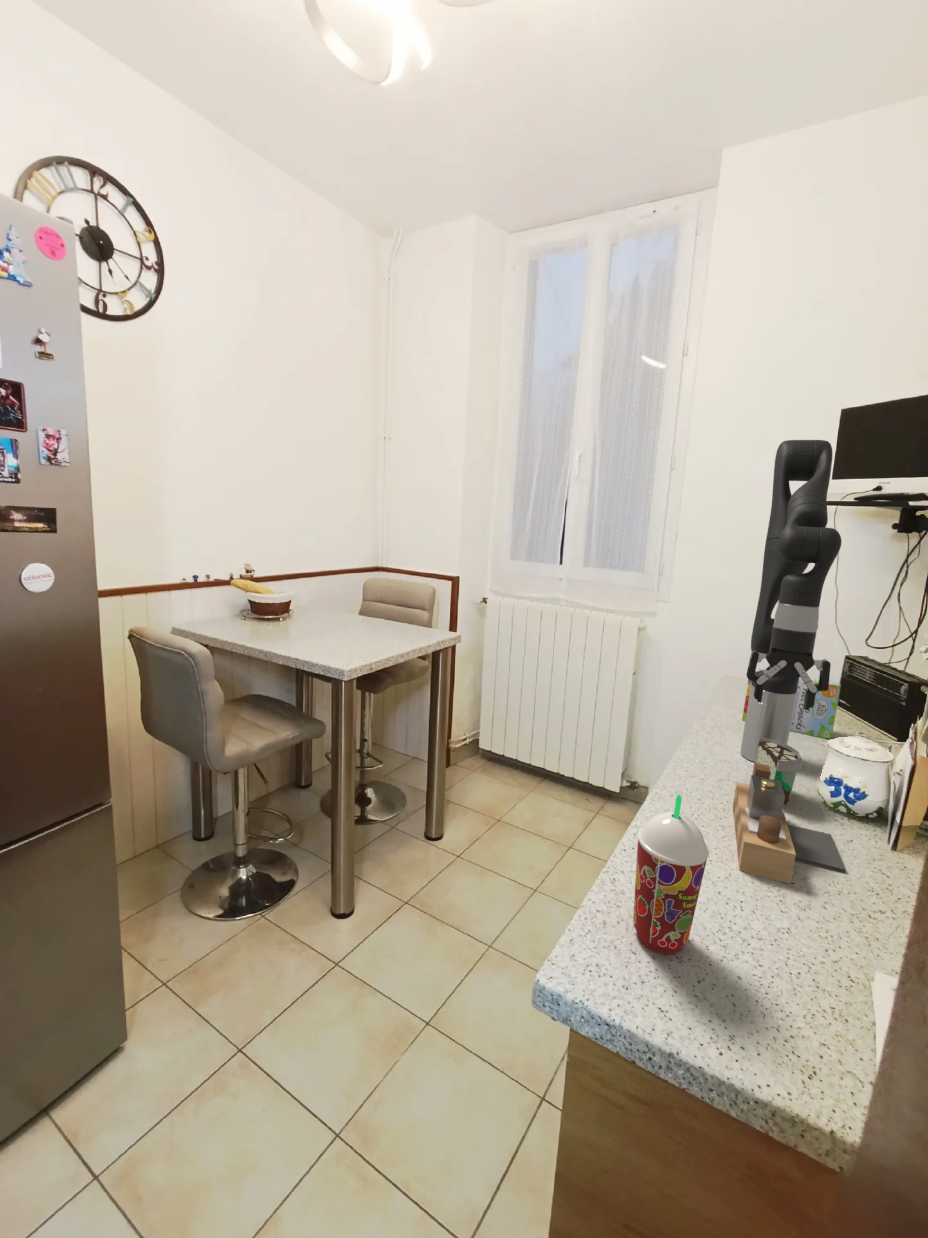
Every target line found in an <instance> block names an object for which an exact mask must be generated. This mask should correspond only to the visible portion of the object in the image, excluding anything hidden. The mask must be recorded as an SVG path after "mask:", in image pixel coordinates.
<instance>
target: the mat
mask: <svg viewBox="0 0 928 1238" xmlns="http://www.w3.org/2000/svg"><path fill="white" fill-rule="evenodd" d="M787 825H788V829H789V832H790V836H791V839H792V843H793V846H794V850H795V853H796V857H795V861H796V862H800V863H805V864H808V865H813V866H816V867H818V868H819V867H820V868H822V869H823V868H824V869H827V870H831V871H836V872H838V873H843V874H845V873H846V867H845V865H844V863H843V860H842V858H841V855H840V853H839V851H838V849H837V848H838V847H837V846H836V843H835V841H834V839H833V836H832V834H830V833H827V832H822V831H817V830H814V829H809V828H804V827H801V826H796V825H793V824H790V823H789V824H788V823H787Z"/></svg>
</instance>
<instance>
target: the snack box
mask: <svg viewBox="0 0 928 1238" xmlns="http://www.w3.org/2000/svg"><path fill="white" fill-rule="evenodd" d="M765 669H766V668H761V667H756V671H755V672H758V671H762V670H765ZM808 676H809V677H810V679H811V680H812V682H813V683H814V684H819V677H816V676H810V675H808ZM747 679H748V678H747ZM751 683H752V680H749V679H748V680H747V685H746V687H747V688H746V692H745V693H746V694H745V699H744V705H743V712H742V719H741V720H742V721H744V722H745V720H746V714H747V708H748V702H749V696H750V689H751ZM841 687H842V685H841V681H839V680H833V679H829V686H828V690H827V691H819V692H817V693H816V696H815V702H814V706H813V708H810V709H809V710H805V709H804V701H805V695H806V690H808V687H807V686H806V684H805V683H804V681H803V680H802V678H801V677H799V682H798V687H797V693H796V699H795V704H794V710H793V716H792V721H791V727H790V732H795V733H800V734H804V735H809V736H814V737H817V738H823V739H826V738H828V739H827V740H830V739H829V738H831V739H832V735H833V731H834V724H835V721H836V714H837V709H838V704H839V699H840V693H841Z"/></svg>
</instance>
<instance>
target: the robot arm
mask: <svg viewBox="0 0 928 1238" xmlns="http://www.w3.org/2000/svg"><path fill="white" fill-rule="evenodd" d="M774 458H775V459H774V468H773V479H772V480H773V481H772V495H771V496H772V497H771V507H770V508H771V509H770V514H769V521H768V527H767V533H766V539H765V545H764V550H763V551H764V552H763V562H762V572H761V583H760V591H759V595H758V602H757V605H756V611H755V616H754V617H755V618H754V622H753V626H752V631H751V640H750V650H751V652H750V656H749V662H748V665H747V671H746V673H745V674H746V678H747V679H749V680H752V683H751V689H750V696H749V702H748V708H747V714H746V720H745V721H744V727H743V733H742V739H741V744H740V745H741V746H740V751H739V753H740V755H741V756H742V757H743V758H744V759H747V760H749V761H751V762H753V763H756V758H757V750H758V746H757V743H758V740H759V738H765V739H770V740H774V741H777V742H780V743H783V744H786V745H788V743H789V738H790V732H791V731H790V727H791V721H792V716H793V710H794V704H795V699H796V693H797V687H798V682H799V677H801V678H802V680H803V681H804V683H805V684H806V686H807V687H808V690H806V695H805V701H804V709H805V710H809V709H810V708H813V706H814V702H815V696H816V693H817V692H819V691H827V690H828V686H829V680H830V672H831V667H832V665H831V662H830V661H829V660H827V659H825V658H824V659H814V656H813V655H814V649H815V644H816V637H817V631H818V629H819V618H820V605H821V604H820V603H821V598H822V593H823V588H824V584H825V581H826V579H827V576H828V574H829V571H830V569H831V567H832V565H833V564H834V561H835V560H836V558H837V556H838V554H839V552H840V549H841V546H842V536H841V535H840V533H839V531H838V530H837V529H835V528H833V527H827V524H828V521H829V517H828V515H829V514H828V503H827V499H828V490H829V487H830V481H831V479H830V478H831V472H832V464H833V463H832V462H833V447H832V444H831V443H830V442H829V441H828V440H823V439H790V440H789V439H787V440H784V441H782V442H780V444H779V445H778V447H777V449H776V453H775V457H774ZM790 482H804V483H803V485H801V486H800V487H799V488H798V489H796V490H795V491H794V492H793V494H792V492H791V486H790ZM809 564H814V565H813V568H812V569H810V571H807V572H805V571H806V570H807V568H808V566H809ZM776 605H777V607H776V610H775V614H774V618H772V614H773V611H774V609H775V606H776ZM764 659H765V660H766V661H767V663H768V666H767V667H766V668H764V669H765V670H762V671H758V672H755V671H756V668H757V666H758V663H759V664H760V663H761V662H762V661H763V660H764ZM814 666H815V667H816V670H817V671H819V676H818V678H819V684H814V683H813V682H812V680H811V679H810V677H811V676H810V675H809V674H808V671H809V670H810V669H811V668H813V667H814ZM809 676H810V677H809Z"/></svg>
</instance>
